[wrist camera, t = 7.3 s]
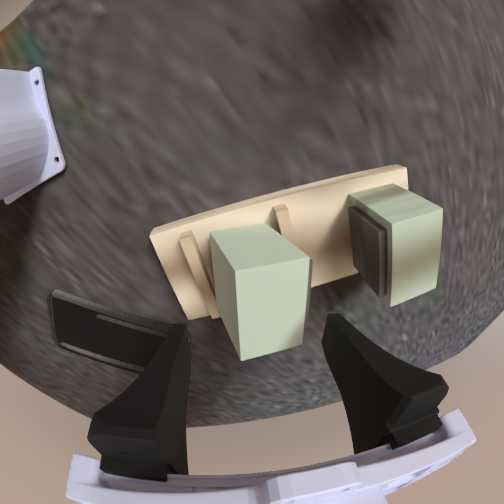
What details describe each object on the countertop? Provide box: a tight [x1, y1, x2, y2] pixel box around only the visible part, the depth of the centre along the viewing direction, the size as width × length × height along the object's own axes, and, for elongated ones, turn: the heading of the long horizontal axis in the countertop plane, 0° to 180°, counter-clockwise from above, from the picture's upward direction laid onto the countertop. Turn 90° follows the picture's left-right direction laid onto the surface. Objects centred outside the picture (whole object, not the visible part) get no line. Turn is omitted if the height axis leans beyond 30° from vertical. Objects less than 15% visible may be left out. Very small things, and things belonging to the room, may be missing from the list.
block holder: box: [150, 164, 443, 320], centre depth 19 cm, size 8×20×8 cm, turn 104°
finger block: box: [210, 224, 313, 361], centre depth 18 cm, size 5×6×6 cm
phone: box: [47, 289, 191, 374], centre depth 25 cm, size 8×1×15 cm
